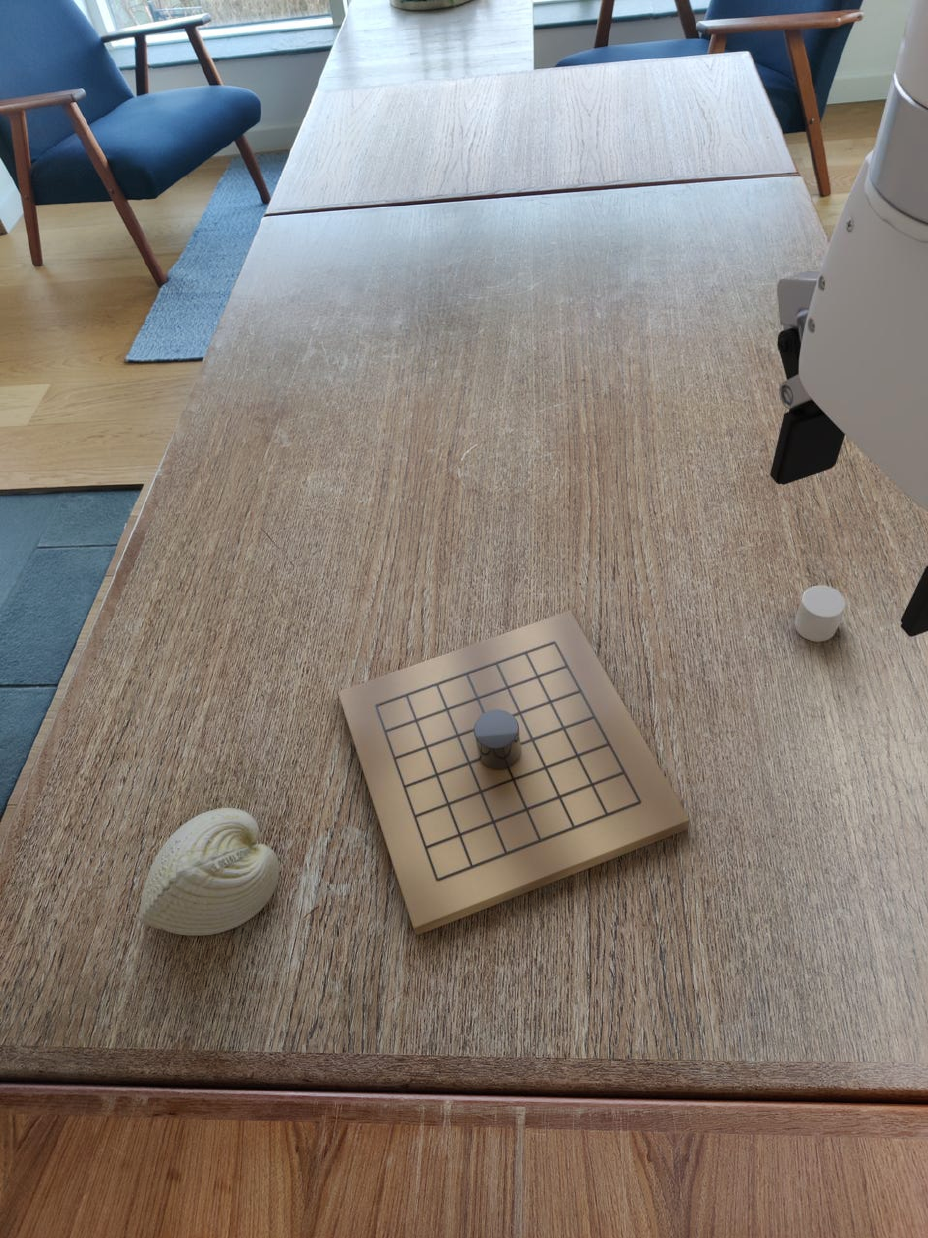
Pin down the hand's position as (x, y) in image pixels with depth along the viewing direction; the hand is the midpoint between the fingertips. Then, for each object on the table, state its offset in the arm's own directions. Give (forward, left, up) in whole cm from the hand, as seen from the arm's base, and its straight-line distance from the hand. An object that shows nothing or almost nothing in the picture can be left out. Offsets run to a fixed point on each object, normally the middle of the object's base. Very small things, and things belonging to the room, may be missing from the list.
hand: (863, 541), depth 39 cm
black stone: (+15, -11, -27) cm, 33 cm away
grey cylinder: (-12, -13, -28) cm, 33 cm away
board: (+15, -11, -28) cm, 34 cm away
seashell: (+37, -10, -28) cm, 48 cm away
